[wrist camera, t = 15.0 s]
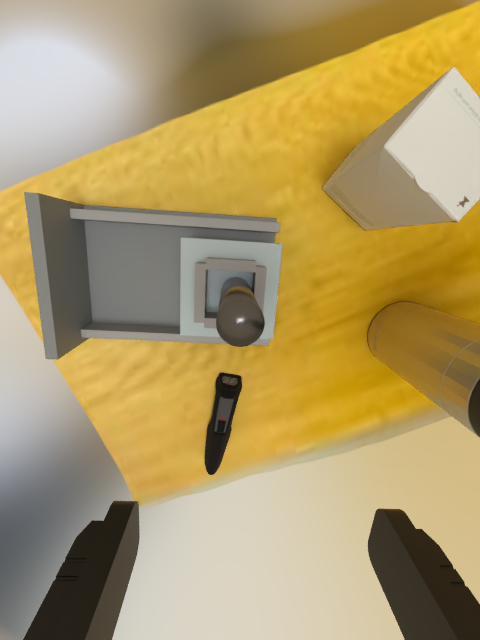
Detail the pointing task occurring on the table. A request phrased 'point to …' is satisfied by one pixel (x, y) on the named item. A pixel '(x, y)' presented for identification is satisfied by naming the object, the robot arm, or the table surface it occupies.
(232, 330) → the handle peg
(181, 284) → the square socket block
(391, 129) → the skincare box
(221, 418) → the electric trimmer
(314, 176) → the table surface
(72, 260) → the bay
